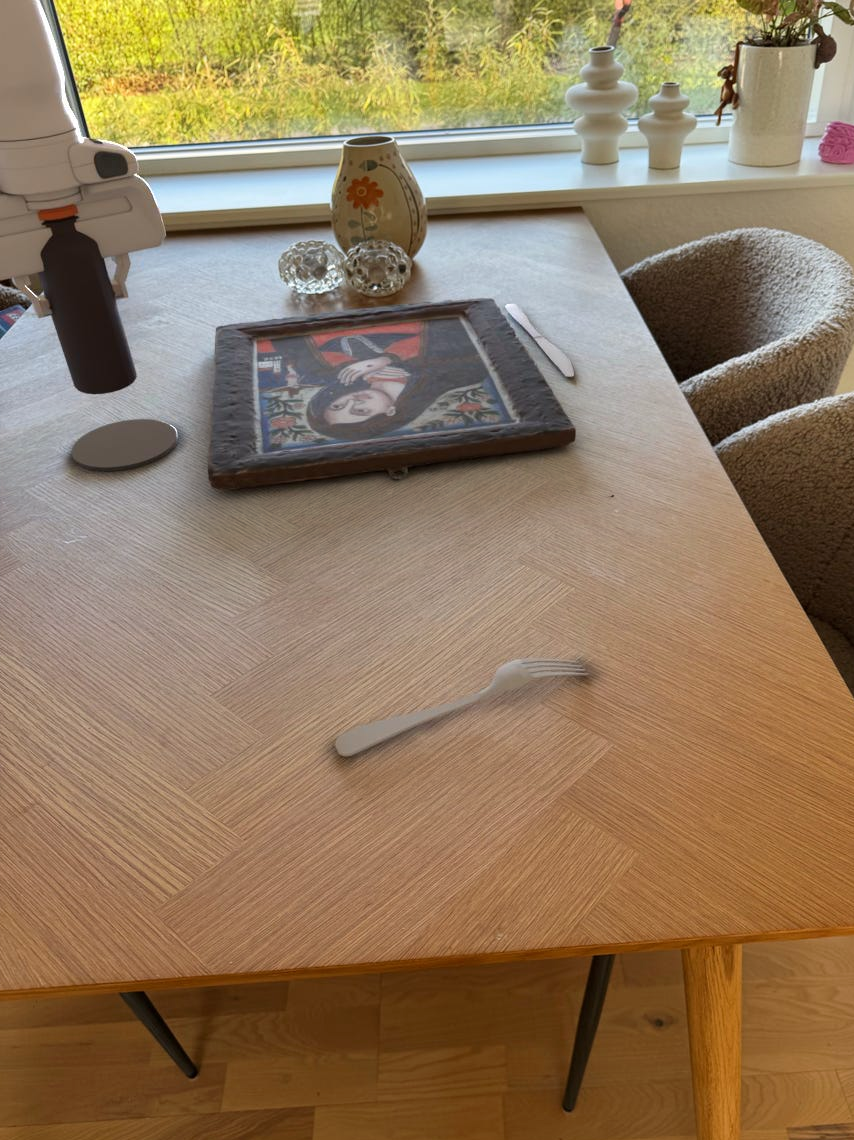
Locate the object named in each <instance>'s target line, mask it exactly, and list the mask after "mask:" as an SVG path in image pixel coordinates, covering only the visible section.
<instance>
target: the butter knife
mask: <svg viewBox="0 0 854 1140" xmlns="http://www.w3.org/2000/svg"><path fill="white" fill-rule="evenodd" d="M504 308H505V310H506V311H507V312H508V313H509V314H510V315H511V317H512V318H513V319H514V320H515V321H516V322H517V323H518V324H519V325H520V326H521V327H522V328H523V329H525V331H526V332H527V333H528V334H530V336H532V338H533V339H534V340H535V342H536V343H537V344H538V346H539V347H540V348H541V349H542V350H543V352H544V353H545V354H546V356H547V357H548V358H549V359H550V361H552V362H553V363H554V365H556V366H557V368H558V369H559V370H560V372H561V373H562V374H563V375H564V376H565V377H566V378H574V377H575V373H574V372H575V371H574V367H573V364H572V361H571V359H570V358H569V357H568V356H567V355H566V354H565V353H563V351H562V350H560V348H558V347H557V346H556V345H554V344H553V343H551V342H549V341H548V340H547V339H546V338H545V337H543V336H542V335H541V334H540V333H539V332H538V331H537V329H535V327H534V326H533V324H532V323H531V321H530V320H529V317H528V316H527V315H526V314H525V312H524V311H523V310H522V309H521V308H520V306H519V305H517V304H515V303H508V304H506V305H505V306H504Z"/></svg>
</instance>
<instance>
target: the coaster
mask: <svg viewBox="0 0 854 1140" xmlns="http://www.w3.org/2000/svg"><path fill="white" fill-rule="evenodd" d="M178 442H179V434H178V431H177V429H176V427H174V426H173V425H172V424H170V423H168V422H167V421H166V422H165V421H162V420H159V419H150V418H136V419H127V420H120V421H115V422H112V423H108V424H105V425H102V426H100V427H97V428H94V429H93V430H90V431H89V432H86V433H85V434H84V435H82V436H81V437H80V438H78V439H77V441H75V442H74V444H73V445H72V448H71V456H72V459H73V462H74V463H76V465H78V466H80V467H82V468H83V469H87V470H91V471H97V472H117V471H126V470H131V469H135V468H140V467H143V466H145V465H149V464H151V463H153V462H156V461H158V460H160V459H162V458H163V457H165V456H167V455H168V454H170V453H171V452H172V451H173V450H174V449H175V447H176V446H177V444H178Z"/></svg>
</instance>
